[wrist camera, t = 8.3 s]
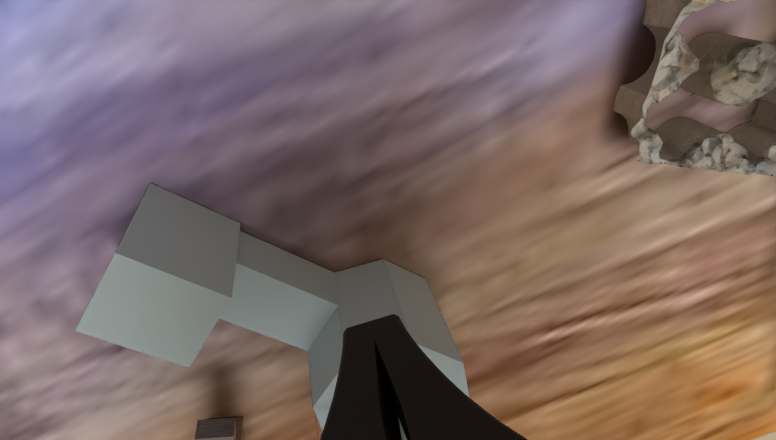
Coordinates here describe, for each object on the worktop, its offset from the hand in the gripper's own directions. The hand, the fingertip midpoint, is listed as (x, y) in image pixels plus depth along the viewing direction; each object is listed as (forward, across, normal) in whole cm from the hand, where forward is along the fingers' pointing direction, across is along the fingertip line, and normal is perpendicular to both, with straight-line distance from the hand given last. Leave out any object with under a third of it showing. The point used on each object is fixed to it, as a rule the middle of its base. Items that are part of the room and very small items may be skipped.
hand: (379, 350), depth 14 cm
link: (+9, +3, +3) cm, 10 cm away
